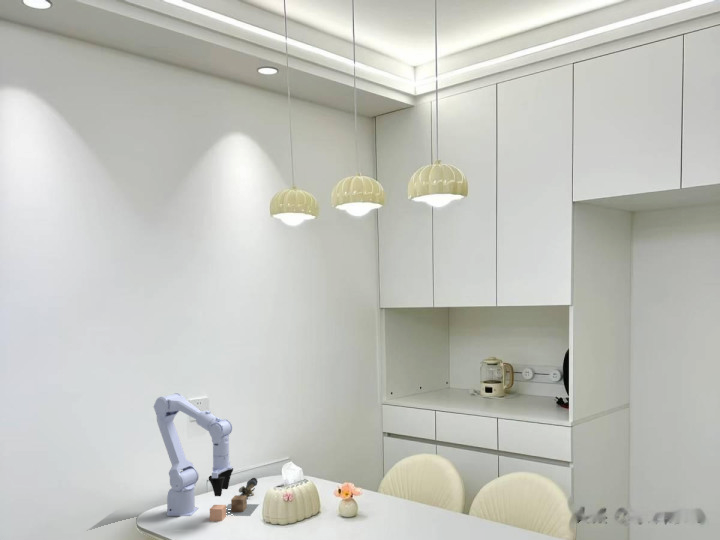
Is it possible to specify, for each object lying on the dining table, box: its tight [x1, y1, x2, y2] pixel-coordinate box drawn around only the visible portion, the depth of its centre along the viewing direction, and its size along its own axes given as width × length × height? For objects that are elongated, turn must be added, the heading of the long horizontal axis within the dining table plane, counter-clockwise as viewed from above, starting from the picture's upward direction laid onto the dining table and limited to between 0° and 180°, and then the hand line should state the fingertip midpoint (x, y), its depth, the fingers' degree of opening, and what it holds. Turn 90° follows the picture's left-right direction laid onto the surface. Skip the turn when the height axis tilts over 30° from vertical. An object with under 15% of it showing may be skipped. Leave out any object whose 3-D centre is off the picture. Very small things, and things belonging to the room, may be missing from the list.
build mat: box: [226, 503, 260, 517], centre depth 227 cm, size 12×12×1 cm
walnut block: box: [230, 494, 248, 512], centre depth 227 cm, size 4×4×4 cm
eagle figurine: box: [238, 477, 258, 499], centre depth 243 cm, size 8×7×9 cm
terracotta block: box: [209, 504, 227, 522], centre depth 219 cm, size 4×4×4 cm
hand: (221, 492), depth 219 cm, fingers open, 7 cm apart
